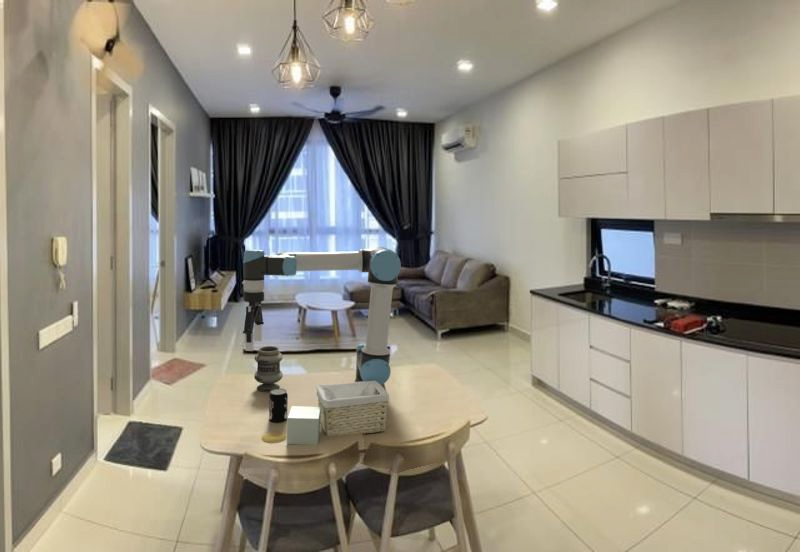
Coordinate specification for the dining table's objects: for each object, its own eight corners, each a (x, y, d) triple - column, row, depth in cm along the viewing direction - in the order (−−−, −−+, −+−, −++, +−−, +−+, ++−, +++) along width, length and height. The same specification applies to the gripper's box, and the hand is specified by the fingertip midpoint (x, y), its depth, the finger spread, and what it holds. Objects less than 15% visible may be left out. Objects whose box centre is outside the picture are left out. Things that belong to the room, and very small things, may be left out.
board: (317, 432, 174) (317, 418, 173) (313, 450, 161) (314, 435, 161) (265, 432, 172) (265, 418, 172) (257, 450, 160) (258, 434, 159)
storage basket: (323, 441, 168) (324, 400, 166) (314, 422, 183) (315, 384, 181) (389, 433, 176) (390, 394, 174) (375, 415, 191) (377, 379, 189)
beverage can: (282, 427, 177) (283, 395, 176) (265, 425, 179) (266, 393, 177) (290, 420, 184) (290, 389, 182) (273, 417, 185) (274, 387, 184)
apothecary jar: (253, 393, 209) (253, 352, 206) (254, 384, 220) (255, 345, 218) (282, 392, 211) (283, 351, 209) (282, 382, 223) (283, 344, 221)
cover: (319, 431, 172) (320, 406, 171) (317, 444, 163) (318, 418, 162) (290, 430, 172) (291, 406, 171) (286, 444, 162) (287, 417, 161)
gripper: (251, 285, 197) (251, 337, 199) (234, 295, 172) (234, 354, 174) (270, 286, 197) (270, 337, 200) (256, 296, 172) (256, 355, 175)
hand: (253, 345), depth 187 cm, fingers open, 13 cm apart
